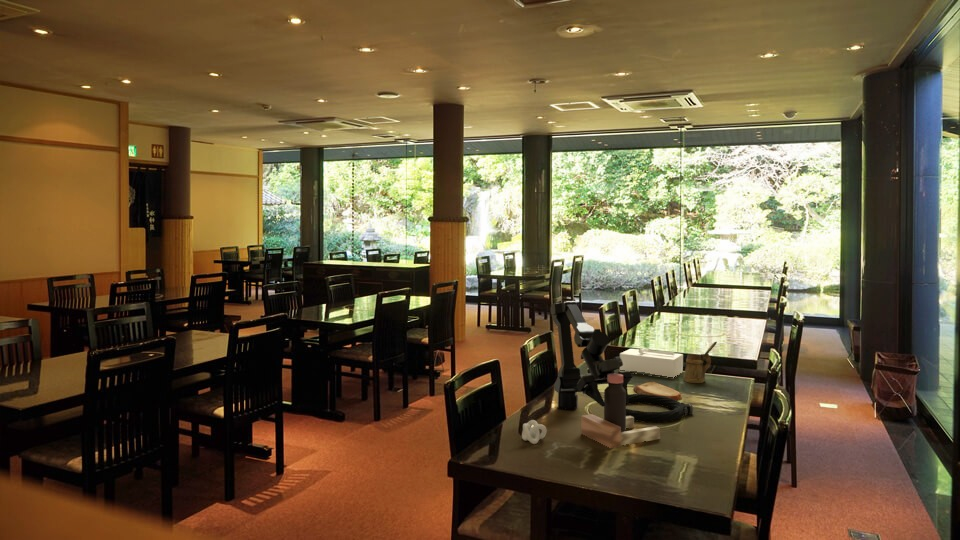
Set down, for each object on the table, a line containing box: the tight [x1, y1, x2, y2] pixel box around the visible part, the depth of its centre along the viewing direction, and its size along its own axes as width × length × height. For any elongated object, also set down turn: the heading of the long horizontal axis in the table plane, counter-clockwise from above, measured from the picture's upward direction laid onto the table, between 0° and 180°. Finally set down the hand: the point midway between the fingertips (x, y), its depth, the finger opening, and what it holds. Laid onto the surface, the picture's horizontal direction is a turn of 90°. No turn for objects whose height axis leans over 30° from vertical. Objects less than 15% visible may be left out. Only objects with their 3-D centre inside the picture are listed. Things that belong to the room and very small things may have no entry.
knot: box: [521, 419, 547, 445], centre depth 196 cm, size 8×8×6 cm
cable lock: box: [626, 393, 694, 423], centre depth 228 cm, size 28×4×30 cm
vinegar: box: [603, 372, 627, 432], centre depth 199 cm, size 7×7×20 cm
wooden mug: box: [682, 341, 718, 384], centre depth 272 cm, size 9×14×18 cm, turn 68°
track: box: [580, 413, 661, 449], centre depth 200 cm, size 20×15×6 cm
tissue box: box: [619, 347, 684, 379], centre depth 292 cm, size 14×25×11 cm, turn 57°
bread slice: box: [633, 381, 683, 401], centre depth 253 cm, size 18×18×4 cm
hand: (615, 404), depth 198 cm, fingers open, 9 cm apart
